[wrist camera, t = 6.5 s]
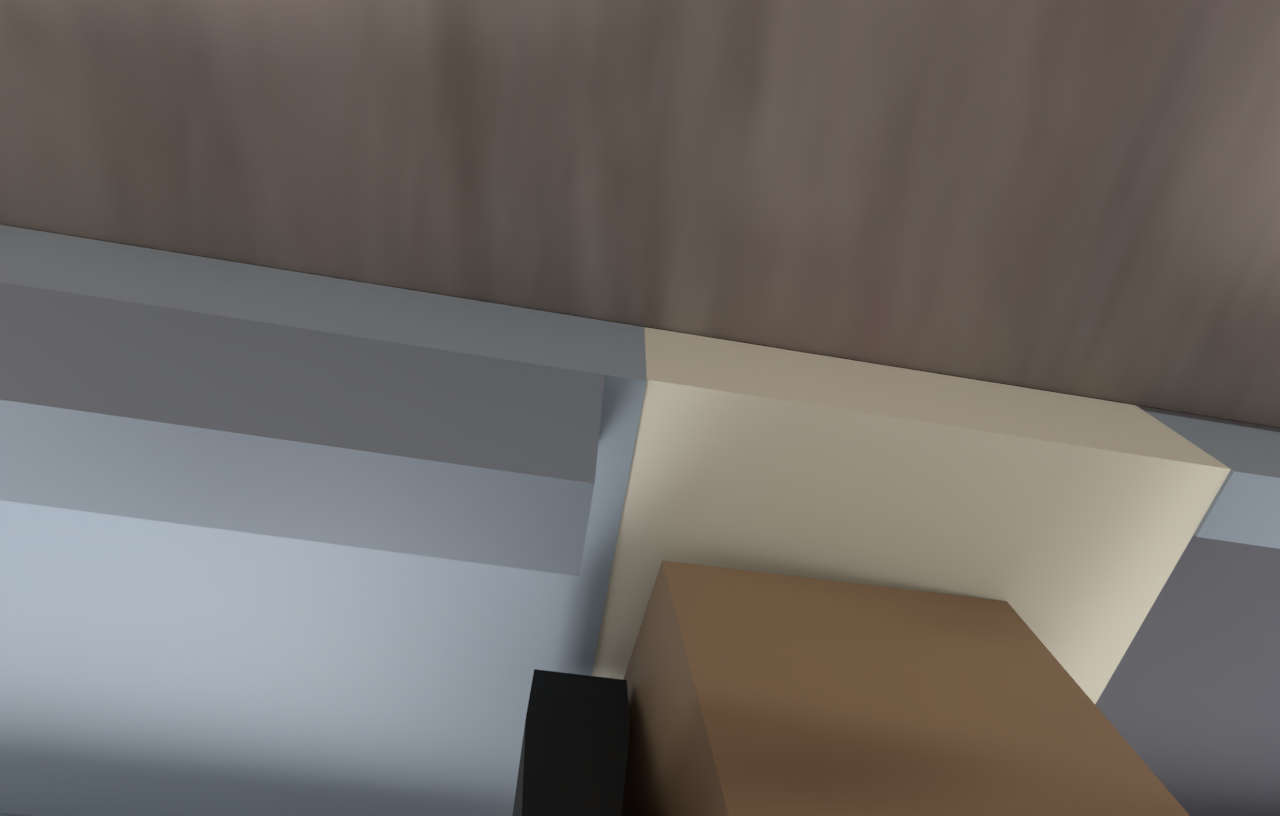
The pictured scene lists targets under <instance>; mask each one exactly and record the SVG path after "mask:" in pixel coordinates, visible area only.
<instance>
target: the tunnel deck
mask: <svg viewBox="0 0 1280 816" xmlns="http://www.w3.org/2000/svg"><path fill="white" fill-rule="evenodd" d="M662 561H670V562H679V563H687V564H696V565H704V566H713V567H721V568H729V569H738V570H746V571H755V572H763V573H772V574H780V575H789V576H797V577H805V578H814V579H822V580H831V581H839V582H848V583H856V584H865V585H873V586H881V587H890V588H898V589H907V590H915V591H924V592H932V593H941V594H949V595H957V596H966V597H974V598H983V599H991V600H1000V601H1007V602H1008V603H1009V604H1010V606H1011V607H1012V608H1013V609H1014V610H1015V611H1016V613H1017V614H1018V615H1019V616H1020V617H1021V618H1022V620H1023V621H1024V622H1025V623H1026V624H1027V625H1028V627H1029V628H1030V629H1031V630H1032V631H1033V633H1034V634H1035V635H1036V636H1037V637H1038V638H1039V640H1040V641H1041V642H1042V643H1043V644H1044V645H1045V647H1046V648H1047V649H1048V650H1049V651H1050V652H1051V654H1052V655H1053V656H1054V657H1055V658H1056V659H1057V661H1058V662H1059V663H1060V664H1061V665H1062V666H1063V668H1064V669H1065V670H1066V671H1067V672H1068V673H1069V675H1070V676H1071V677H1072V678H1073V679H1074V681H1075V682H1076V683H1077V684H1078V685H1079V686H1080V688H1081V689H1082V690H1083V691H1084V692H1085V693H1086V695H1087V696H1088V697H1089V698H1090V699H1091V700H1092V702H1093V703H1094V704H1095V705H1096V706H1097V707H1098V709H1099V710H1100V711H1101V712H1102V713H1103V714H1104V716H1105V717H1106V718H1107V719H1108V720H1109V721H1110V723H1111V724H1112V725H1113V726H1114V727H1115V729H1116V730H1117V731H1118V732H1119V733H1120V734H1121V736H1122V737H1123V738H1124V739H1125V740H1126V741H1127V743H1128V744H1129V745H1130V746H1131V747H1132V748H1133V750H1134V751H1135V752H1136V753H1137V754H1138V755H1139V757H1140V758H1141V759H1142V760H1143V761H1144V762H1145V764H1146V765H1147V766H1148V767H1149V768H1150V770H1151V771H1152V772H1153V773H1154V774H1155V775H1156V777H1157V778H1158V779H1159V780H1160V781H1161V782H1162V784H1163V785H1164V786H1165V787H1166V788H1167V789H1168V791H1169V792H1170V793H1171V794H1172V795H1173V796H1174V798H1175V799H1176V800H1177V801H1178V802H1179V803H1180V805H1181V806H1182V807H1183V808H1184V809H1185V810H1186V812H1187V813H1188V814H1189V815H1190V816H1280V428H1275V427H1269V426H1263V425H1257V424H1250V423H1244V422H1238V421H1231V420H1225V419H1219V418H1213V417H1206V416H1200V415H1194V414H1187V413H1181V412H1175V411H1169V410H1162V409H1156V408H1150V407H1143V406H1137V405H1131V404H1125V403H1118V402H1112V401H1106V400H1099V399H1093V398H1087V397H1081V396H1074V395H1068V394H1062V393H1055V392H1049V391H1043V390H1037V389H1030V388H1024V387H1018V386H1011V385H1005V384H999V383H993V382H986V381H980V380H974V379H967V378H961V377H955V376H949V375H942V374H936V373H930V372H923V371H917V370H911V369H905V368H898V367H892V366H886V365H879V364H873V363H867V362H861V361H854V360H848V359H842V358H835V357H829V356H823V355H817V354H810V353H804V352H798V351H791V350H785V349H779V348H773V347H766V346H760V345H754V344H747V343H741V342H735V341H729V340H722V339H716V338H710V337H703V336H697V335H691V334H685V333H678V332H672V331H666V330H659V329H653V328H647V327H641V326H634V325H628V324H622V323H615V322H609V321H603V320H597V319H590V318H584V317H578V316H571V315H565V314H559V313H553V312H546V311H540V310H534V309H527V308H521V307H515V306H509V305H502V304H496V303H490V302H483V301H477V300H471V299H465V298H458V297H452V296H446V295H439V294H433V293H427V292H421V291H414V290H408V289H402V288H395V287H389V286H383V285H377V284H370V283H364V282H358V281H351V280H345V279H339V278H333V277H326V276H320V275H314V274H307V273H301V272H295V271H289V270H282V269H276V268H270V267H263V266H257V265H251V264H245V263H238V262H232V261H226V260H219V259H213V258H207V257H201V256H194V255H188V254H182V253H175V252H169V251H163V250H157V249H150V248H144V247H138V246H131V245H125V244H119V243H113V242H106V241H100V240H94V239H87V238H81V237H75V236H68V235H62V234H56V233H50V232H43V231H37V230H31V229H24V228H18V227H12V226H6V225H0V816H512V815H513V807H514V800H515V793H516V786H517V778H518V771H519V764H520V757H521V749H522V742H523V735H524V727H525V720H526V714H527V708H528V702H529V697H530V691H531V685H532V679H533V674H534V669H537V670H545V671H554V672H562V673H571V674H579V675H588V676H596V677H605V678H613V679H622V680H623V679H624V676H625V673H626V670H627V667H628V664H629V661H630V658H631V654H632V651H633V648H634V645H635V642H636V639H637V636H638V633H639V630H640V627H641V624H642V621H643V618H644V614H645V611H646V608H647V605H648V602H649V599H650V596H651V593H652V590H653V587H654V584H655V581H656V577H657V574H658V571H659V568H660V565H661V562H662Z"/></svg>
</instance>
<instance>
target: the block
mask: <svg viewBox="0 0 1280 816" xmlns="http://www.w3.org/2000/svg"><path fill="white" fill-rule="evenodd" d="M623 680H627V692H628V707H629V730H630V731H629V742H628V752H627V763H626V773H625V783H624V793H623V803H622V814H621V816H1190V815H1189V814H1188V813H1187V812H1186V810H1185V809H1184V808H1183V807H1182V806H1181V805H1180V803H1179V802H1178V801H1177V800H1176V799H1175V798H1174V796H1173V795H1172V794H1171V793H1170V792H1169V791H1168V789H1167V788H1166V787H1165V786H1164V785H1163V784H1162V782H1161V781H1160V780H1159V779H1158V778H1157V777H1156V775H1155V774H1154V773H1153V772H1152V771H1151V770H1150V768H1149V767H1148V766H1147V765H1146V764H1145V762H1144V761H1143V760H1142V759H1141V758H1140V757H1139V755H1138V754H1137V753H1136V752H1135V751H1134V750H1133V748H1132V747H1131V746H1130V745H1129V744H1128V743H1127V741H1126V740H1125V739H1124V738H1123V737H1122V736H1121V734H1120V733H1119V732H1118V731H1117V730H1116V729H1115V727H1114V726H1113V725H1112V724H1111V723H1110V721H1109V720H1108V719H1107V718H1106V717H1105V716H1104V714H1103V713H1102V712H1101V711H1100V710H1099V709H1098V707H1097V706H1096V705H1095V704H1094V703H1093V702H1092V700H1091V699H1090V698H1089V697H1088V696H1087V695H1086V693H1085V692H1084V691H1083V690H1082V689H1081V688H1080V686H1079V685H1078V684H1077V683H1076V682H1075V681H1074V679H1073V678H1072V677H1071V676H1070V675H1069V673H1068V672H1067V671H1066V670H1065V669H1064V668H1063V666H1062V665H1061V664H1060V663H1059V662H1058V661H1057V659H1056V658H1055V657H1054V656H1053V655H1052V654H1051V652H1050V651H1049V650H1048V649H1047V648H1046V647H1045V645H1044V644H1043V643H1042V642H1041V641H1040V640H1039V638H1038V637H1037V636H1036V635H1035V634H1034V633H1033V631H1032V630H1031V629H1030V628H1029V627H1028V625H1027V624H1026V623H1025V622H1024V621H1023V620H1022V618H1021V617H1020V616H1019V615H1018V614H1017V613H1016V611H1015V610H1014V609H1013V608H1012V607H1011V606H1010V604H1009V603H1008V602H1007V601H1000V600H991V599H983V598H974V597H966V596H957V595H949V594H941V593H932V592H924V591H915V590H907V589H898V588H890V587H881V586H873V585H865V584H856V583H848V582H839V581H831V580H822V579H814V578H805V577H797V576H789V575H780V574H772V573H763V572H755V571H746V570H738V569H729V568H721V567H713V566H704V565H696V564H687V563H679V562H670V561H662V562H661V565H660V568H659V571H658V574H657V577H656V581H655V584H654V587H653V590H652V593H651V596H650V599H649V602H648V605H647V608H646V611H645V614H644V618H643V621H642V624H641V627H640V630H639V633H638V636H637V639H636V642H635V645H634V648H633V651H632V654H631V658H630V661H629V664H628V667H627V670H626V673H625V676H624V679H623Z"/></svg>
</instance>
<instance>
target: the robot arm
mask: <svg viewBox="0 0 1280 816" xmlns="http://www.w3.org/2000/svg"><path fill="white" fill-rule="evenodd" d="M629 731H630V730H629V707H628V692H627V680H622V679H613V678H605V677H596V676H588V675H579V674H571V673H562V672H554V671H545V670H537V669H534V674H533V679H532V685H531V691H530V697H529V702H528V708H527V714H526V720H525V727H524V735H523V742H522V749H521V757H520V764H519V771H518V778H517V786H516V793H515V800H514V807H513V815H512V816H621V814H622V803H623V793H624V783H625V773H626V763H627V752H628V742H629Z"/></svg>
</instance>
